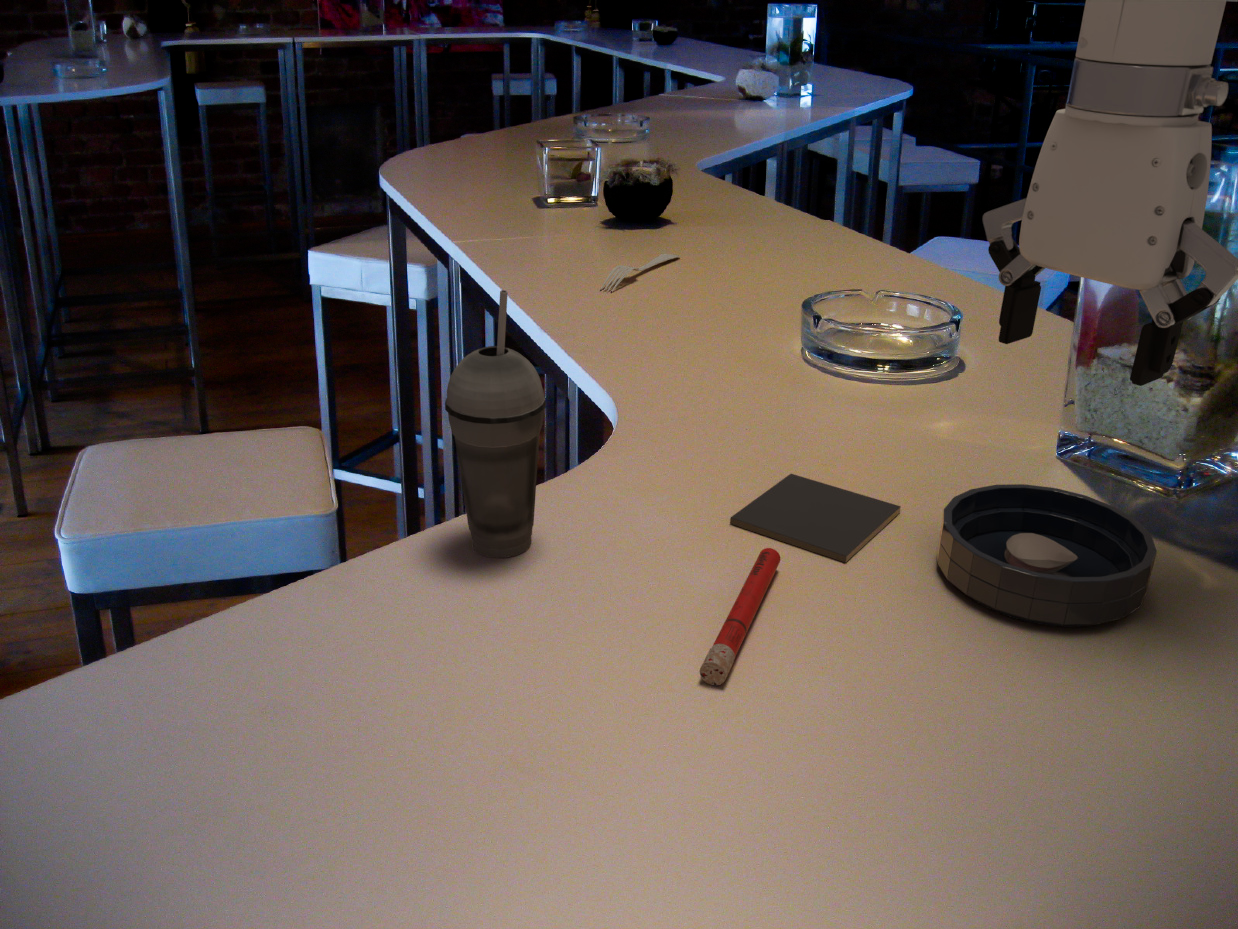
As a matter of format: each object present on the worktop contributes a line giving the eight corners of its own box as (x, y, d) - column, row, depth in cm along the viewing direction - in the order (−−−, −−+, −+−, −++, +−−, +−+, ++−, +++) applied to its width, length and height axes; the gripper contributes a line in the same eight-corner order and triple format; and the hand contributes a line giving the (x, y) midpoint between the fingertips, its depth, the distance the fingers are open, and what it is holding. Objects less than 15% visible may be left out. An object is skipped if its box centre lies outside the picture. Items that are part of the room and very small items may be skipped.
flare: (699, 682, 67) (700, 659, 67) (757, 566, 80) (759, 545, 79) (725, 688, 67) (726, 665, 66) (780, 570, 79) (782, 550, 79)
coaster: (790, 479, 93) (790, 473, 93) (900, 512, 88) (900, 506, 87) (729, 523, 86) (730, 517, 86) (845, 563, 80) (846, 556, 80)
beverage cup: (497, 511, 87) (486, 267, 79) (568, 538, 84) (565, 285, 75) (433, 547, 82) (414, 290, 73) (506, 578, 78) (494, 310, 70)
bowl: (1008, 512, 88) (1016, 468, 86) (1181, 586, 78) (1194, 537, 76) (896, 568, 80) (903, 520, 78) (1073, 658, 70) (1085, 605, 68)
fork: (682, 273, 160) (683, 254, 159) (614, 293, 143) (615, 272, 142) (664, 271, 161) (666, 252, 160) (596, 290, 144) (597, 269, 143)
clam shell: (997, 552, 81) (1003, 522, 80) (1067, 557, 80) (1074, 527, 79) (1008, 582, 77) (1014, 551, 76) (1081, 588, 76) (1088, 557, 75)
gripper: (1312, 105, 62) (1233, 386, 69) (1042, 76, 74) (999, 317, 81) (1253, 114, 58) (1175, 412, 65) (976, 81, 70) (937, 335, 77)
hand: (1077, 359), depth 73 cm, fingers open, 9 cm apart
